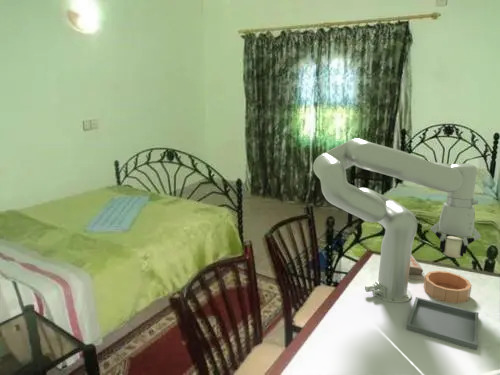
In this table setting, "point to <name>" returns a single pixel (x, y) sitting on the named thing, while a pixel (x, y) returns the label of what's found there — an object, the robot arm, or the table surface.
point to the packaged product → (415, 270)
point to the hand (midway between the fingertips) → (452, 252)
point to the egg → (453, 246)
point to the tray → (444, 322)
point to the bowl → (447, 286)
